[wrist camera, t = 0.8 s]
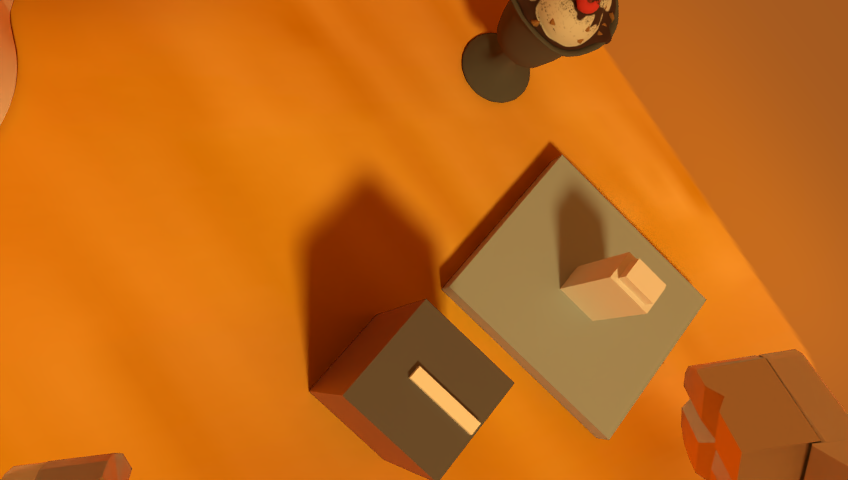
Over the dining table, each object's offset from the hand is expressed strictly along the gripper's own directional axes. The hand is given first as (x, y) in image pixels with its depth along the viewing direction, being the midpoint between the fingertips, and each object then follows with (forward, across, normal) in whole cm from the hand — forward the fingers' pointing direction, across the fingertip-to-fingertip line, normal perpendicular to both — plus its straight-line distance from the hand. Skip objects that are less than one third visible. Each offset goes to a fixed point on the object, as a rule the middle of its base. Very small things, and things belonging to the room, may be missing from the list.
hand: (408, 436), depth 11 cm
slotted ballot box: (+25, +4, +23) cm, 34 cm away
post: (+31, -9, +23) cm, 40 cm away
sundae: (+40, -7, +11) cm, 42 cm away
